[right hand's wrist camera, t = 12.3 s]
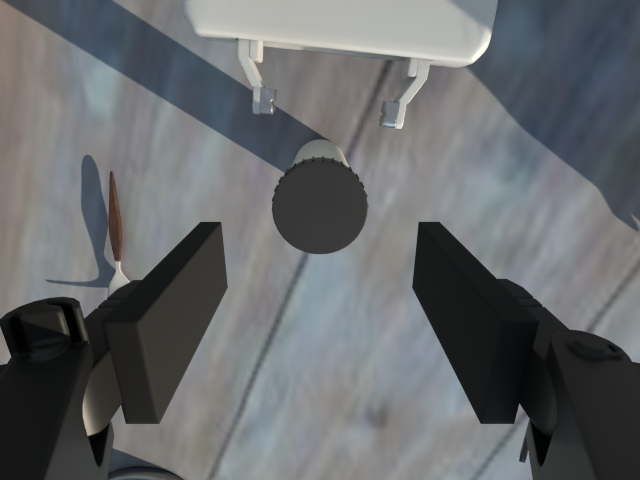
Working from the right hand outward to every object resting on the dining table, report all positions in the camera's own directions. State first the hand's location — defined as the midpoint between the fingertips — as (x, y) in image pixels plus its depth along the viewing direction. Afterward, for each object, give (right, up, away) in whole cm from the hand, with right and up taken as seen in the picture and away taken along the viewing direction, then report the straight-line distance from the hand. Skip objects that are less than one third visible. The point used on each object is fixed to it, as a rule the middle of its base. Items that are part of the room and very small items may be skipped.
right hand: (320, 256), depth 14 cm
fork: (-20, 0, +23) cm, 31 cm away
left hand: (+1, +9, +13) cm, 16 cm away
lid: (0, +2, +6) cm, 7 cm away
